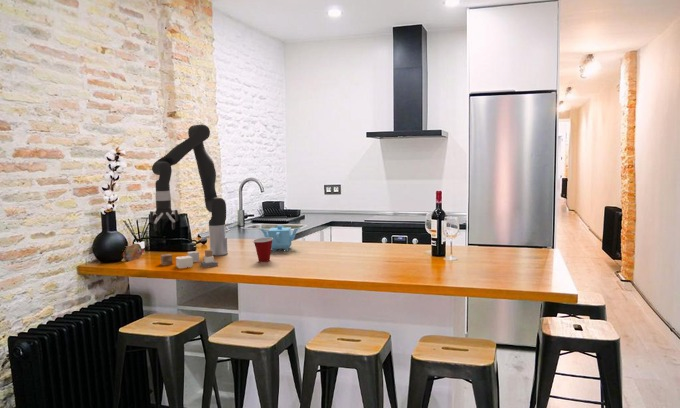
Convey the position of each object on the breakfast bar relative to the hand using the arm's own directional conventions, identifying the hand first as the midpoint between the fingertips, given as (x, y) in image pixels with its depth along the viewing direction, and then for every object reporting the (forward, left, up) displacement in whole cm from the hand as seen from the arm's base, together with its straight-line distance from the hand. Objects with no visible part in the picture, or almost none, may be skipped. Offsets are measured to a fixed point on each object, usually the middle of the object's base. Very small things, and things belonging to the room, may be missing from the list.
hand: (164, 230), depth 269 cm
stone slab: (+14, -27, -19) cm, 36 cm away
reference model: (-18, +18, -18) cm, 31 cm away
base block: (-7, +12, -19) cm, 23 cm away
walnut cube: (0, 0, -18) cm, 18 cm away
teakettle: (-67, -5, -19) cm, 70 cm away
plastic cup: (-46, +23, -19) cm, 55 cm away
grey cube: (-14, 0, -18) cm, 23 cm away
